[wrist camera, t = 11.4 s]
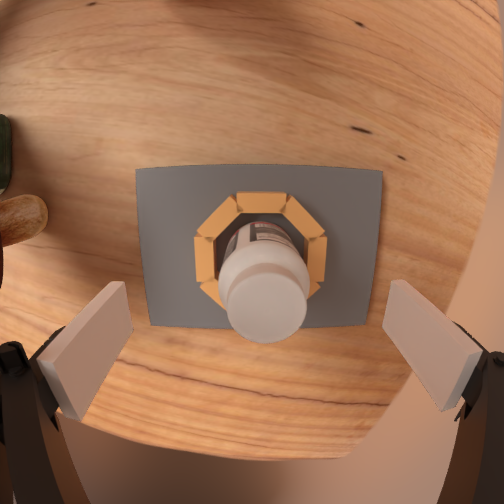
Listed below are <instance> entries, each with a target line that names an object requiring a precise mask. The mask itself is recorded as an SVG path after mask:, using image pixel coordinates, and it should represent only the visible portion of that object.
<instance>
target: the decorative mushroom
mask: <svg viewBox="0 0 504 504" xmlns="http://www.w3.org/2000/svg"><path fill="white" fill-rule="evenodd" d="M47 220H48V210H47V207H46V204H45V202H44V201H43V200H42V199H41V198H40V197H38V196H35V195H30V194H25V195H20V196H16V197H13V198H10V199H7V200H4V201H1V202H0V288H1V285H2V279H3V247H6V246H9V245H13V244H16V243H19V242H22V241H25V240H27V239H30V238H32V237H34V236H36V235H38V234H39V233H40V232H41V231H42V230H43V229H44V228H45V226H46V224H47Z"/></svg>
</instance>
